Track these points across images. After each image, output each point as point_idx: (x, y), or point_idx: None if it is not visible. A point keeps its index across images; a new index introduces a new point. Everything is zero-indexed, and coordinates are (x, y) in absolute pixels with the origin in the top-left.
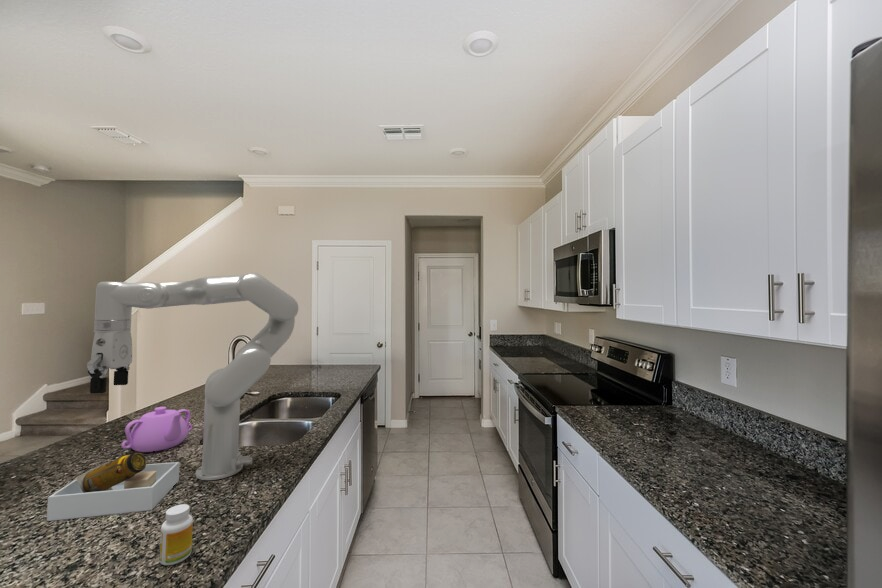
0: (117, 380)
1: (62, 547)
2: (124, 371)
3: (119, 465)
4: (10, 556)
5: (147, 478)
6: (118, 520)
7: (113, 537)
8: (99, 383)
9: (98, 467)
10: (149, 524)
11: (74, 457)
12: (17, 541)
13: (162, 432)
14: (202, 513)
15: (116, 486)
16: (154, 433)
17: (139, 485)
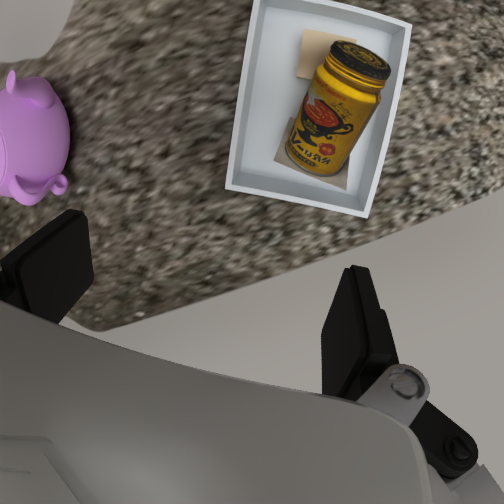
0: (73, 280)
1: (463, 148)
2: (16, 283)
3: (377, 97)
4: (451, 207)
5: (352, 39)
6: (414, 82)
7: (468, 82)
8: (393, 345)
9: (283, 162)
10: (449, 34)
11: None
12: (410, 216)
13: (39, 115)
14: None
15: (252, 123)
16: (43, 132)
17: None
